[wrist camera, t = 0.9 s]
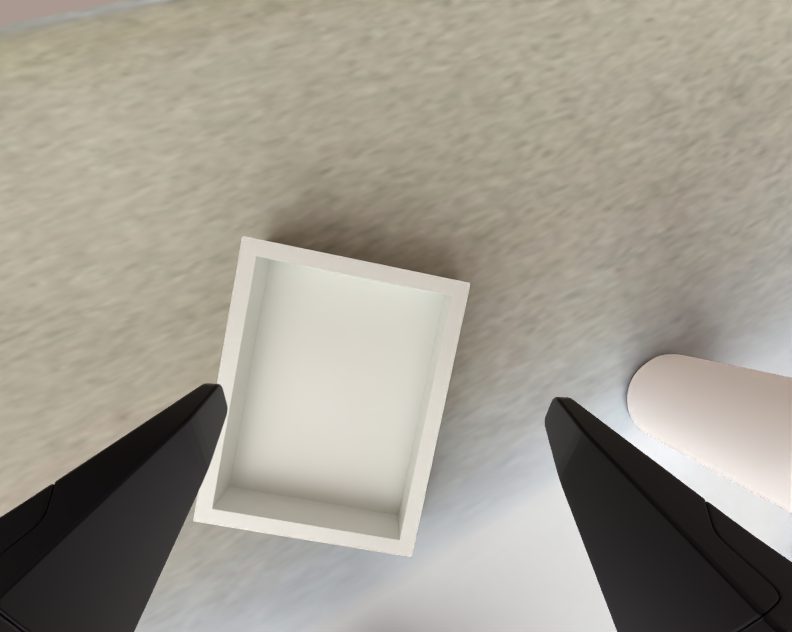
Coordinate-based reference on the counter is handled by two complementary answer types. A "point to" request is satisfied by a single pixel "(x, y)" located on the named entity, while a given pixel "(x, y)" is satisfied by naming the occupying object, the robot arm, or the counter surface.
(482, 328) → the counter surface
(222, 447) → the tray
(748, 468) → the can
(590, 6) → the counter surface
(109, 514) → the robot arm
